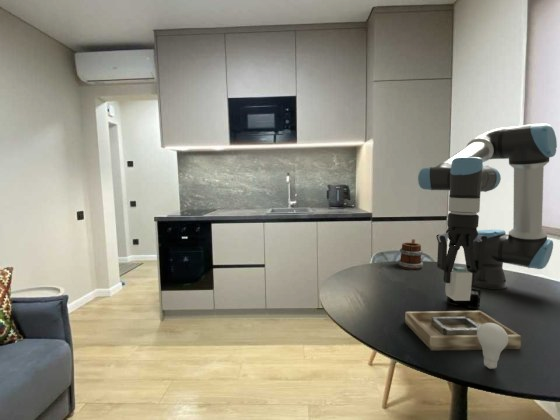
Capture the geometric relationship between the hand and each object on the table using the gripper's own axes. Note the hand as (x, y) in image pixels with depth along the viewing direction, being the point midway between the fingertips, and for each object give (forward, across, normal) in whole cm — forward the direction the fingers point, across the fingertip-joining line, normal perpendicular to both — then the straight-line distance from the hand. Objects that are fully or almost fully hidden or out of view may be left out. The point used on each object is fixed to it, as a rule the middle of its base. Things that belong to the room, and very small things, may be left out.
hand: (457, 293), depth 90 cm
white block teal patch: (+1, 0, 0) cm, 1 cm away
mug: (+12, -18, -69) cm, 73 cm away
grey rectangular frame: (+12, 0, 0) cm, 12 cm away
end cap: (+12, -14, -19) cm, 27 cm away
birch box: (+12, 0, +1) cm, 12 cm away
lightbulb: (+12, +2, +17) cm, 21 cm away
